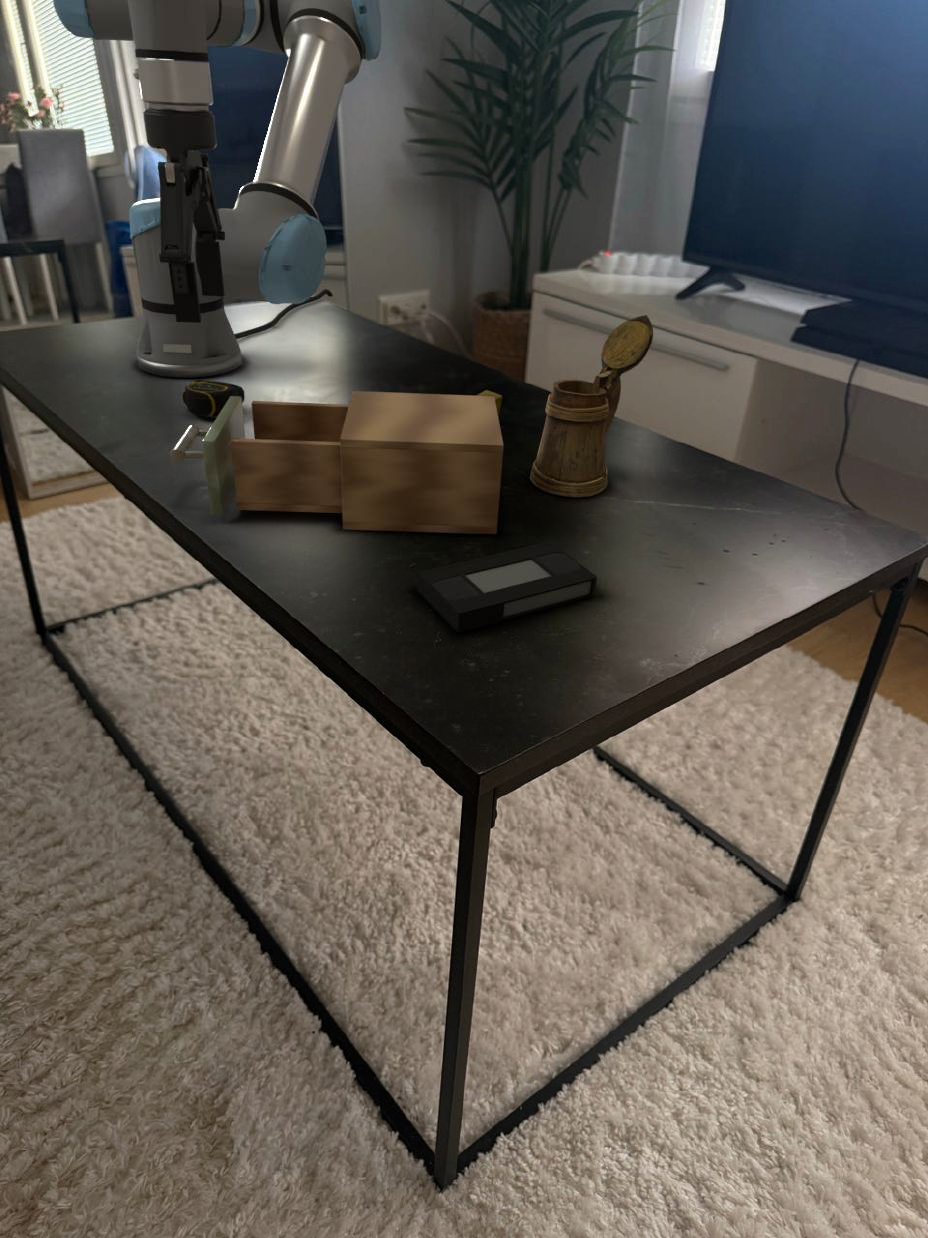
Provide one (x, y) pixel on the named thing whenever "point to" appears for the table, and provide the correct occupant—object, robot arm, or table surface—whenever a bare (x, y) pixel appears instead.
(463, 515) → the cabinet
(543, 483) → the wooden mug
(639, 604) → the table surface
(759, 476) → the table surface
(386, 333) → the table surface
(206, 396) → the tape measure
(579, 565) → the vhs tape
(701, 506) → the table surface
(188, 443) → the drawer
